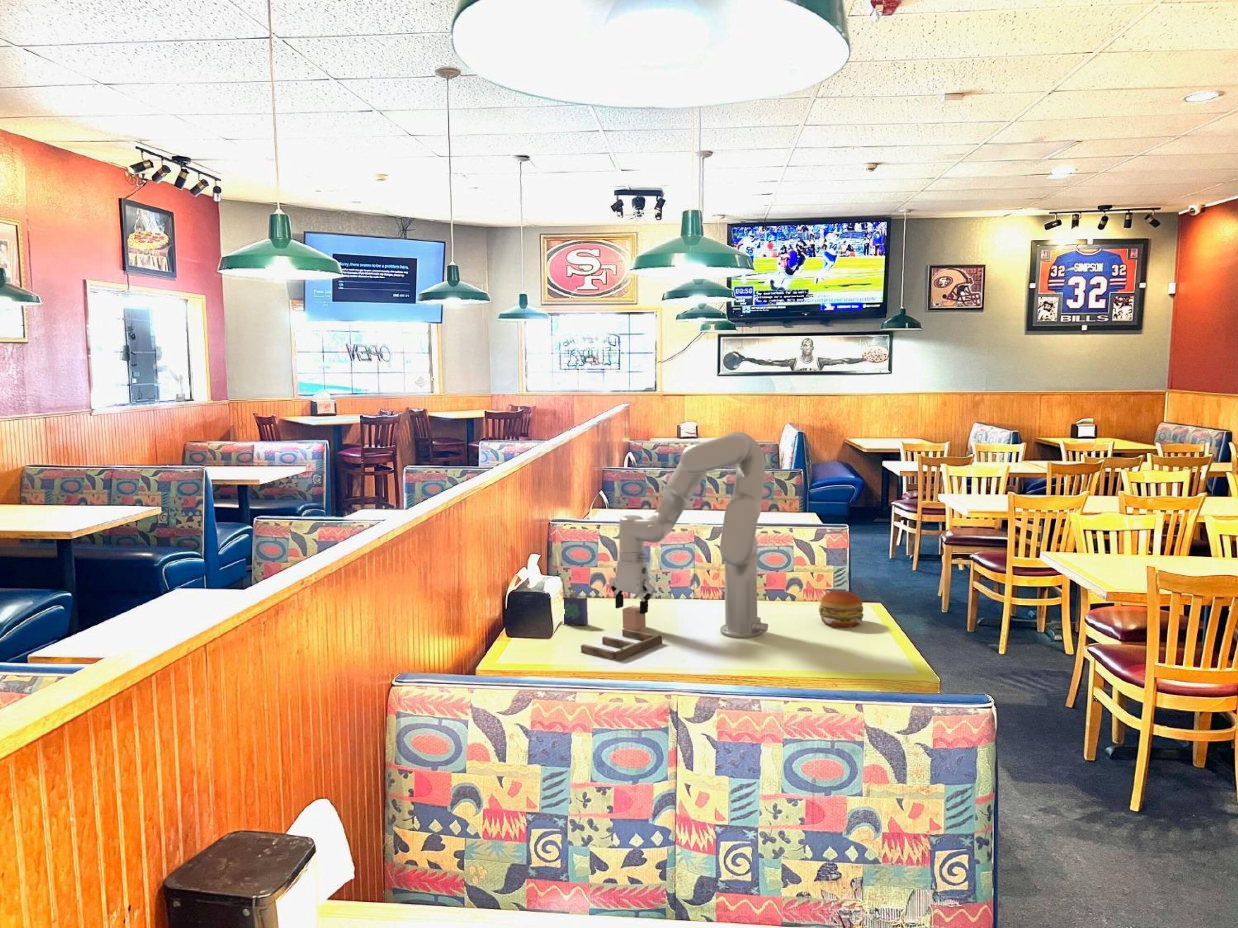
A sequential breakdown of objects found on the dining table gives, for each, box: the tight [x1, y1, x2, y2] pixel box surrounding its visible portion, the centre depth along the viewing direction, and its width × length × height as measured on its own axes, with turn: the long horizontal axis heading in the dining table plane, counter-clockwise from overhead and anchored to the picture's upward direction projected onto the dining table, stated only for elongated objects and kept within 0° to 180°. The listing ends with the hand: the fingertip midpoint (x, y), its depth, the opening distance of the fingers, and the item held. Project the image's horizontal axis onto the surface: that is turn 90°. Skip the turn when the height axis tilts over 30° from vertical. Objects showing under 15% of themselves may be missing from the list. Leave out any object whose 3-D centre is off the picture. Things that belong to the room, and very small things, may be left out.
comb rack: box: [580, 628, 663, 662], centre depth 254 cm, size 14×20×3 cm
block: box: [621, 605, 647, 631], centre depth 274 cm, size 5×5×6 cm
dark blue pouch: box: [563, 590, 589, 627], centre depth 279 cm, size 9×3×11 cm, turn 68°
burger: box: [818, 590, 864, 628], centre depth 271 cm, size 14×14×10 cm
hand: (631, 610), depth 274 cm, fingers open, 9 cm apart
